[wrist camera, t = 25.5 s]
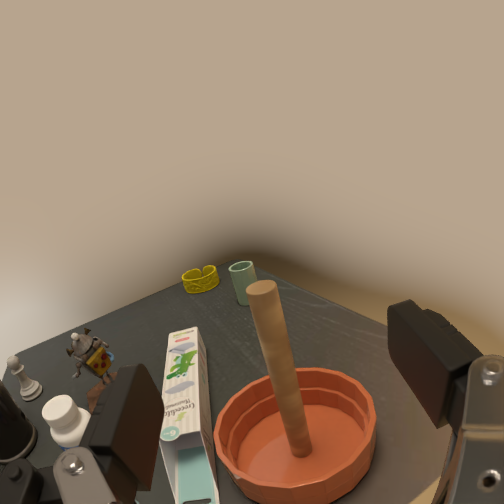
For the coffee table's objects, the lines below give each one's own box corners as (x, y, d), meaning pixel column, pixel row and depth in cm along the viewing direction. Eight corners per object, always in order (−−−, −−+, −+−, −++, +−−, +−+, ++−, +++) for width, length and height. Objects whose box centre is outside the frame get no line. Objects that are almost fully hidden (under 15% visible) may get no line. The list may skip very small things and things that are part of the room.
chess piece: (34, 384, 45) (12, 348, 43) (47, 388, 44) (24, 350, 41) (19, 398, 41) (-4, 362, 38) (31, 404, 39) (6, 366, 37)
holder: (240, 308, 58) (230, 273, 56) (236, 298, 62) (227, 265, 60) (263, 300, 59) (254, 266, 57) (257, 291, 63) (249, 259, 61)
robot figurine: (124, 367, 47) (93, 303, 43) (163, 379, 42) (130, 308, 39) (77, 407, 38) (37, 342, 34) (112, 429, 33) (65, 356, 30)
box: (206, 349, 48) (221, 511, 21) (179, 356, 47) (175, 517, 21) (197, 326, 46) (204, 491, 20) (169, 333, 46) (154, 497, 20)
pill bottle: (84, 452, 30) (41, 395, 27) (120, 442, 31) (79, 384, 28) (83, 484, 25) (32, 427, 22) (123, 475, 26) (75, 417, 23)
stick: (289, 457, 26) (241, 295, 20) (293, 441, 27) (250, 280, 22) (310, 458, 25) (272, 292, 19) (313, 442, 27) (279, 278, 21)
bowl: (248, 532, 19) (229, 510, 17) (220, 426, 32) (205, 393, 30) (400, 471, 21) (407, 439, 19) (337, 385, 34) (332, 350, 32)
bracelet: (219, 288, 69) (215, 274, 68) (184, 297, 69) (179, 283, 68) (219, 275, 76) (215, 262, 75) (187, 283, 76) (183, 271, 75)
